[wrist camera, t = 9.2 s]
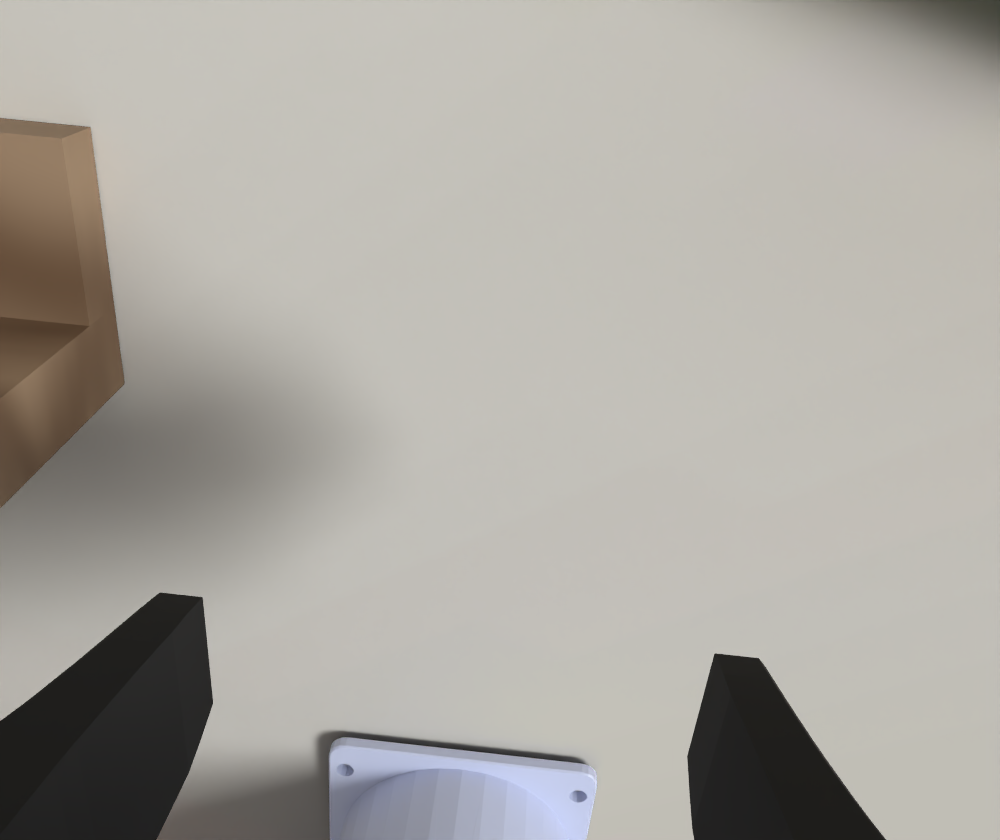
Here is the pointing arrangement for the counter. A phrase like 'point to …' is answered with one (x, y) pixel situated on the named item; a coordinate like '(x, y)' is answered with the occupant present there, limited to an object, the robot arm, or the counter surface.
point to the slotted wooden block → (51, 296)
